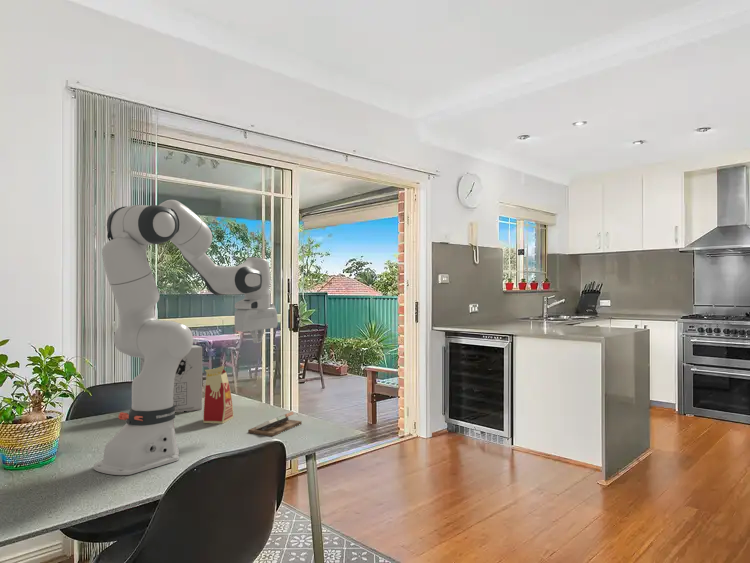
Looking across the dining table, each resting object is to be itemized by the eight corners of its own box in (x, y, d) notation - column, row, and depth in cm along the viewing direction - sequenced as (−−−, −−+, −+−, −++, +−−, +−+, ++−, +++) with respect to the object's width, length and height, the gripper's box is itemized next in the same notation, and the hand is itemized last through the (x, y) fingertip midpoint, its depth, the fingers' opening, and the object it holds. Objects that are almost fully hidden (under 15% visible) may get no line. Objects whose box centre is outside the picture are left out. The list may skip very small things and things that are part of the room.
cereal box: (196, 406, 213) (197, 345, 214) (202, 409, 207) (202, 346, 207) (139, 413, 201) (140, 348, 201) (143, 417, 195) (144, 350, 195)
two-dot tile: (279, 420, 176) (278, 417, 176) (265, 425, 179) (264, 422, 179) (285, 417, 180) (284, 414, 180) (272, 422, 182) (271, 419, 182)
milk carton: (233, 417, 194) (233, 363, 195) (224, 423, 185) (224, 367, 185) (210, 416, 195) (210, 363, 195) (199, 423, 186) (199, 367, 186)
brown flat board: (273, 436, 169) (273, 429, 169) (248, 432, 174) (248, 425, 174) (301, 423, 185) (301, 417, 185) (278, 421, 189) (278, 414, 189)
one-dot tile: (270, 423, 172) (268, 420, 172) (256, 429, 174) (255, 426, 174) (277, 420, 175) (276, 417, 176) (263, 426, 178) (262, 423, 178)
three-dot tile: (287, 416, 181) (286, 413, 181) (274, 422, 183) (273, 419, 183) (293, 414, 184) (292, 411, 185) (281, 419, 187) (279, 417, 187)
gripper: (267, 302, 194) (267, 339, 194) (231, 304, 175) (231, 345, 175) (281, 302, 191) (281, 340, 191) (246, 304, 173) (246, 345, 173)
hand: (257, 342), depth 183 cm, fingers closed
